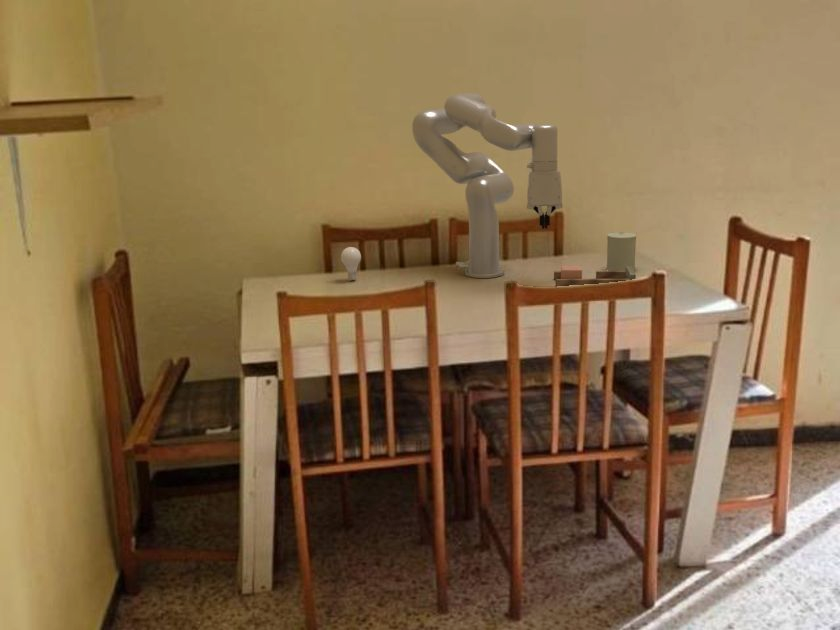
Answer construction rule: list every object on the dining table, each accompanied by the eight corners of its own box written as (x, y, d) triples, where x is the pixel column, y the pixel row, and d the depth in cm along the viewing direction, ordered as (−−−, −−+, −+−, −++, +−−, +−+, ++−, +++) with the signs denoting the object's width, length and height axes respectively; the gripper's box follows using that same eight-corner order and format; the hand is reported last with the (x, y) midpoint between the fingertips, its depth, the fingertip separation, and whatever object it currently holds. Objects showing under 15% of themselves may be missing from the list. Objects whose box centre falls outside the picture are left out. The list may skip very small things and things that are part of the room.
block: (561, 286, 272) (562, 270, 270) (560, 281, 277) (561, 265, 276) (581, 286, 271) (582, 270, 270) (580, 281, 277) (580, 265, 275)
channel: (555, 288, 269) (555, 275, 268) (553, 278, 280) (554, 266, 279) (635, 287, 267) (635, 274, 265) (630, 278, 278) (630, 265, 277)
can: (633, 266, 294) (634, 230, 290) (637, 273, 285) (638, 235, 281) (604, 266, 295) (605, 230, 291) (607, 273, 286) (608, 236, 282)
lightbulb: (358, 283, 282) (357, 249, 279) (339, 282, 284) (337, 248, 281) (364, 278, 288) (363, 245, 285) (345, 278, 290) (344, 244, 287)
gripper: (519, 169, 262) (519, 230, 267) (570, 167, 261) (570, 229, 266) (519, 166, 270) (519, 226, 274) (569, 164, 268) (568, 225, 273)
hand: (544, 227), depth 270 cm, fingers closed
